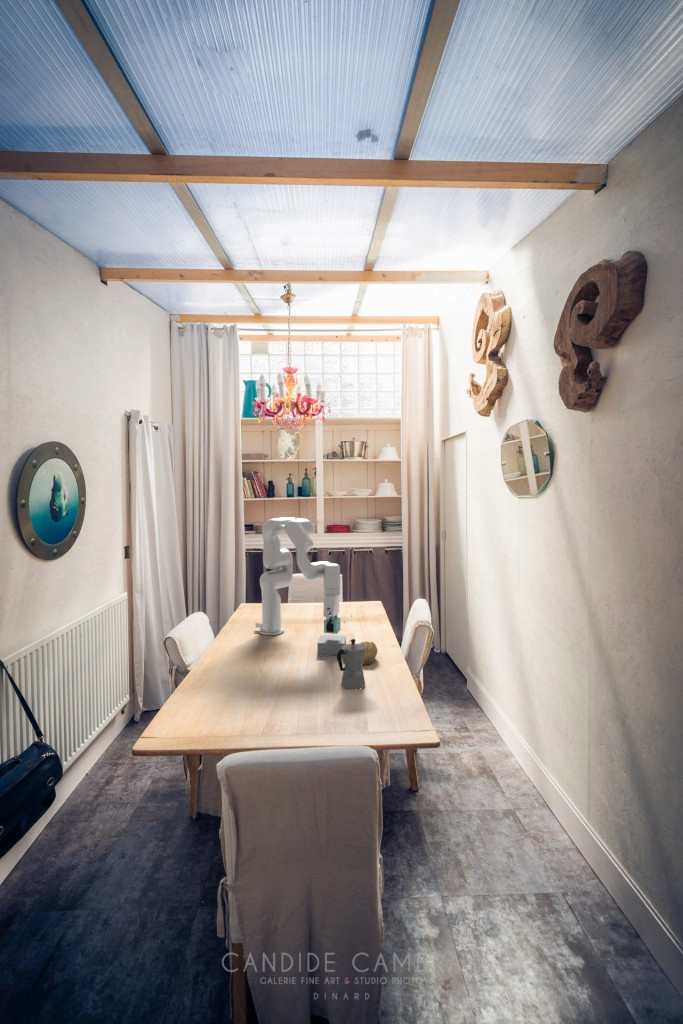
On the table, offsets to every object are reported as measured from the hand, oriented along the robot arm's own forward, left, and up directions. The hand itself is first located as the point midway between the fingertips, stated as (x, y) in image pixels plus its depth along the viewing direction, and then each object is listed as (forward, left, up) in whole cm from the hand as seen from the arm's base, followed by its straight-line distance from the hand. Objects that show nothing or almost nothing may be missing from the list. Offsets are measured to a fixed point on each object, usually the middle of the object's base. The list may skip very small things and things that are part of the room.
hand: (332, 629), depth 243 cm
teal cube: (0, 0, -1) cm, 1 cm away
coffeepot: (+19, -37, -10) cm, 43 cm away
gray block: (0, 0, -11) cm, 11 cm away
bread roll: (+18, -7, -11) cm, 22 cm away
